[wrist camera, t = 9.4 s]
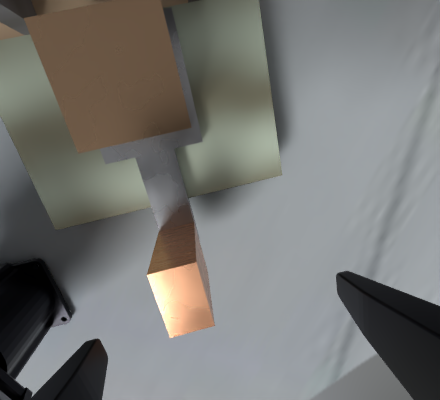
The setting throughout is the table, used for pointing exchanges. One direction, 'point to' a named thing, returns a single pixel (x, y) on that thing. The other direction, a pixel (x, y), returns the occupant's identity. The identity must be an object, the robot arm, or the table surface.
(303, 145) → the table surface
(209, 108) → the tunnel
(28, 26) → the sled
